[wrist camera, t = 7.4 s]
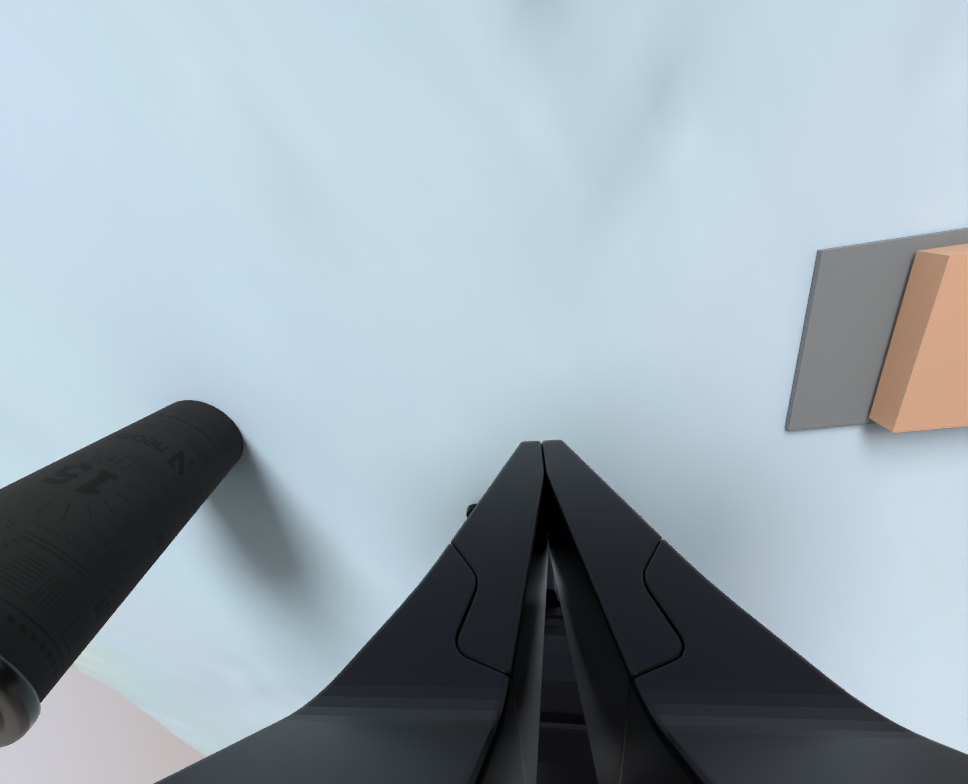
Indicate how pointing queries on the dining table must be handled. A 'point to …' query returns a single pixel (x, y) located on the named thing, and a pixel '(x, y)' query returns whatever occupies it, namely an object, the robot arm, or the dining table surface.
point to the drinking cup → (95, 540)
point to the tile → (928, 348)
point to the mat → (852, 327)
